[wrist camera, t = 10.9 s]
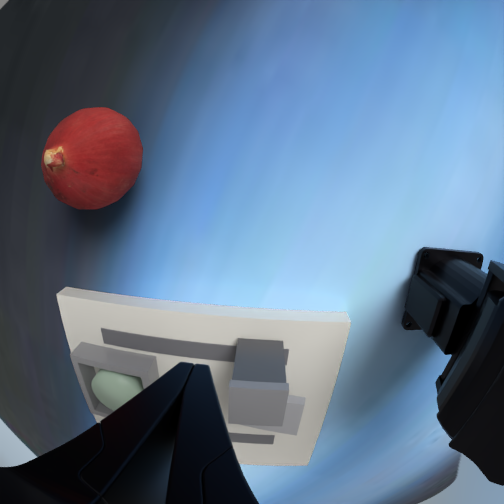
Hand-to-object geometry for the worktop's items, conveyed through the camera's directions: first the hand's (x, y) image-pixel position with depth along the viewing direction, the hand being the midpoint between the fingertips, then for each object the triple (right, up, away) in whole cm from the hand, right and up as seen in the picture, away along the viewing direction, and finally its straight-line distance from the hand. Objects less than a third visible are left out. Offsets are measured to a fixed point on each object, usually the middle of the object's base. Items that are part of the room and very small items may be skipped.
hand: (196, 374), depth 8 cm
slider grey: (+2, -4, +12) cm, 13 cm away
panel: (-3, -9, +15) cm, 18 cm away
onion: (-7, +10, +10) cm, 16 cm away
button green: (-9, -7, +13) cm, 18 cm away
